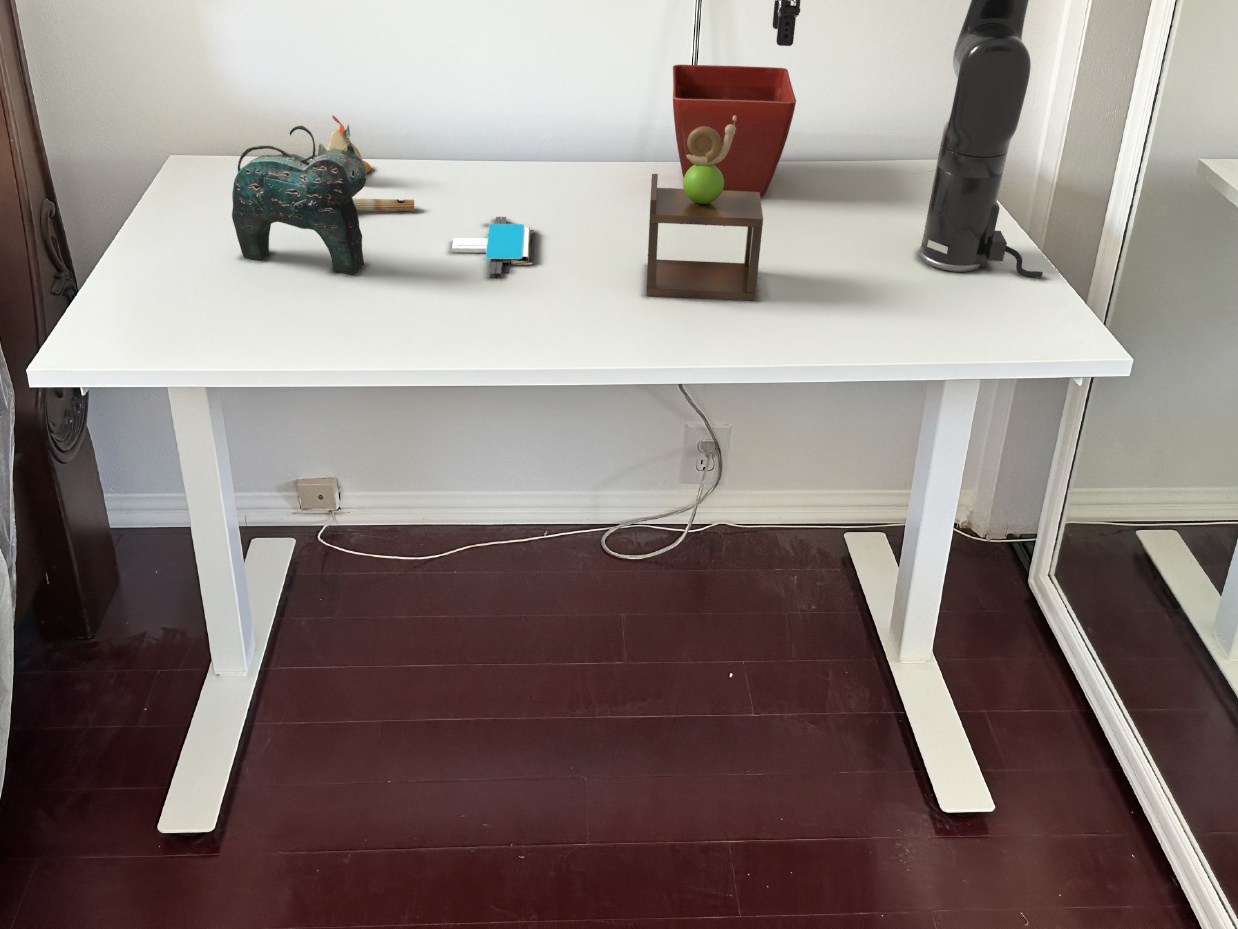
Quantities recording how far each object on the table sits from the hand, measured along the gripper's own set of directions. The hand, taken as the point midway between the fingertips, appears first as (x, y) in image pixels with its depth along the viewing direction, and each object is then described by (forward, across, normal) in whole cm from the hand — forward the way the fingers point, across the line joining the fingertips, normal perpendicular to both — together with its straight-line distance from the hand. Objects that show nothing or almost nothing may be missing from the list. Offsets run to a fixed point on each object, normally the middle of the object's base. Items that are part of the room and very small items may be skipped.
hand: (782, 36), depth 161 cm
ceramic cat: (+30, -15, +66) cm, 74 cm away
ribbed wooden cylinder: (+30, +4, +64) cm, 71 cm away
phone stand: (+30, -7, +40) cm, 51 cm away
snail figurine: (+18, -16, +10) cm, 26 cm away
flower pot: (+30, +23, +5) cm, 38 cm away
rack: (+30, -16, +10) cm, 35 cm away
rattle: (+30, +18, +66) cm, 75 cm away
